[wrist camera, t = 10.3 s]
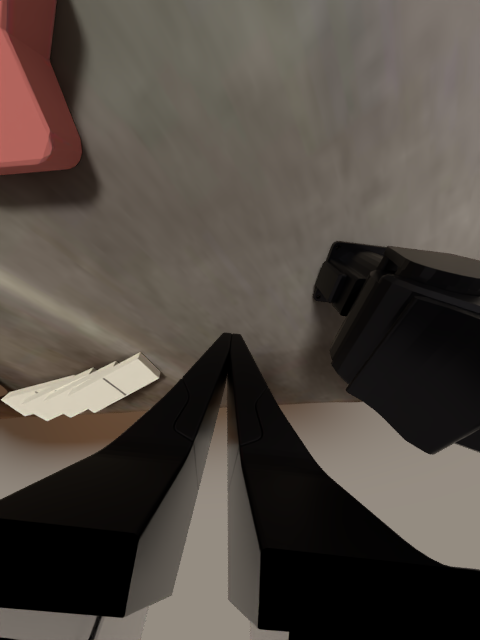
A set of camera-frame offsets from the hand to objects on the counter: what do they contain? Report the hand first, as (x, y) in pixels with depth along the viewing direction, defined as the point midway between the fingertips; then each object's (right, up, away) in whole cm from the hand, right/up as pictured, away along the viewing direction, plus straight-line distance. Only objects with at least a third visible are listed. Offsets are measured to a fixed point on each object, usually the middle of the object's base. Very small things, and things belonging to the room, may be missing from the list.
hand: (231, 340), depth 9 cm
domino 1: (-14, -6, +20) cm, 25 cm away
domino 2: (-19, -8, +21) cm, 30 cm away
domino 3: (-24, -10, +23) cm, 34 cm away
